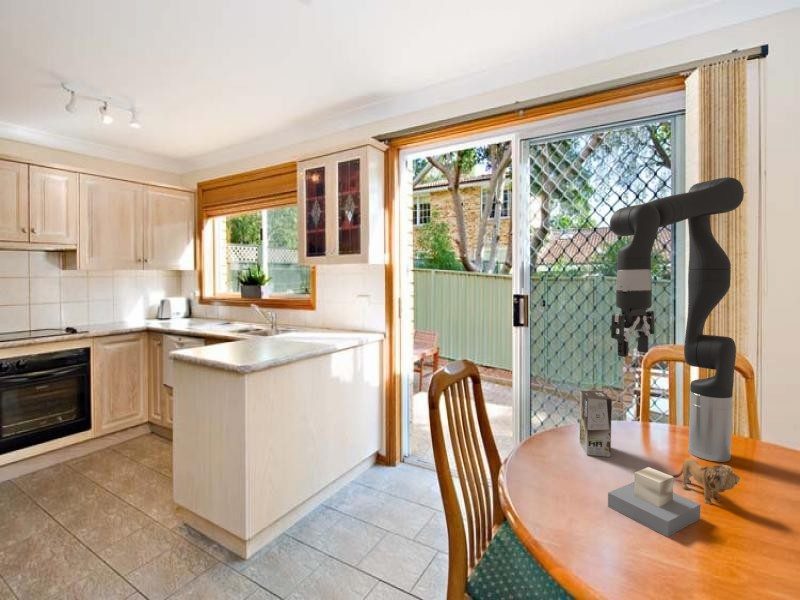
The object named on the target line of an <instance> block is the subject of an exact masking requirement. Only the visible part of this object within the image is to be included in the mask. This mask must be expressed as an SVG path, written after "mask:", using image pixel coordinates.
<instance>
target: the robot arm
mask: <svg viewBox="0 0 800 600" xmlns="http://www.w3.org/2000/svg"><path fill="white" fill-rule="evenodd" d="M744 197H745V196H744V187H743V184H742V183H741V181H740V180H739V179H737V178H735V177H729V176H727V177H720V178H715V179H710V180H707V181H705V180H704V181H702V182H701V181H700V182H698V183H694V184H693V185H692V186H690V188H689V190H688V192H684V193H683V192H682V193H679V194H673V195H668V196H664V197H661V198H657V199H654V200H653V199H652V200H651V201H647V202H645V203H640V204H635V205H629V206H625V207H621V208H619V209H617V210H615V212H613V214H612V215H611V218H610V220H609V227H610V229H611V232H613V233H614V234H615V235H617V236H620V237H630V236H633V237H632V240H631V242H630V243H629V244H625V245H624V246H622V247H619V249H618V252H617V272H616V273H617V274H616V278H615V279H616V282H615V291H616V292H615V293H616V294H615V297H616V298H615V306H616V308H618V309H620V310H621V311H620V313H612V314H611V325H610V326H611V327H610V329H611V330H610V337H611V339H614V340H616V341H617V355H618V356H619V357H622V358H625V357H626V358H628V356H629V338H630V336H631V335H632V334H634V331H636V332H635V333H636V335H637V336H638V337H637V351H638V352H639V353H649V338H651V335H654V334H655V311H654V310H647V309H650V308H652V305H653V304H652V302H653V301H652V300H653V299H652V297H653V296H652V293H653V292H652V291H653V286H652V285H653V278H652V270H651V268H652V259H651V258H652V250H653V247H654V245H655V240H656V236H657V234H658V231H659V228H663V227H667V226H670V225H672V224H676V223H679V222H682V221H684V220H687V224H688V238H689V241H688V244H689V245H688V246H689V247H688V248H689V253H688V269H687V270H688V272H687V273H688V274H687V284H688V285H687V289H688V290H687V291H688V292H687V293H688V294H687V295H688V296H687V298H688V300H687V318H686V319H687V320H686V329H685V336H684V346H683V354H684V355H683V356H684V360H685V363H686V364H687V365H688V366H690V367H694V368H699V369H709V370H714V371H715V372H714V375H713V376H711V377H707V378H699V379H698V378H697V379H695V380H691V382H690V385H689V386H690V387H689V416H688V417H689V420H688V421H689V423H688V452H689V453H690V454H691V455H693V456H694V457H697V458H700V459H703V460H706V461H711V462H717V463H721V462H722V463H726V462H729V461H731V455H732V450H731V449H732V430H733V429H732V425H733V424H732V423H733V421H732V420H733V392H734V381H735V369H736V368H735V367H736V366H735V365H736V359H737V358H736V357H737V346H736V345H737V344H736V343H735V341H734V339H733V338H732V337H729V336H723V335H712V334H704V329H705V325H706V321H707V319H708V317H709V316H710V315H711V313H712V311H713V310H714V309H715V308H716V306H717V305H719V303H720V302H721V301H722V300H723V298H725V296H726V295H727V293H728V292H729V289H730V287H731V278H732V276H731V274H732V273H731V272H732V271H731V270H732V267H731V265H732V264H731V261H730V258H729V256H728V254H727V253H726V252H725V251H724V249H723V248H722V246H721V245H720V244H719V243H718V241H717V240H716V238H715V237H714V235H713V232H712V229H711V228H712V227H711V226H712V225H711V215H718V214H719V215H720V214H725V213H729V212H732V211H734V210H736V209H737V208H739V207H740V206H741V204H742V202H743V200H744Z"/></svg>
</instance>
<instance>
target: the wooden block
mask: <svg viewBox="0 0 800 600" xmlns="http://www.w3.org/2000/svg"><path fill="white" fill-rule="evenodd" d="M634 482H635V485H634V496H636V497H638V498H640V499H642V500H645V501H647V502H649V503H651V504H653V505H655V506H658V507H661V506H663V505H665V504H667V503H669V502H671V501H673V493H674V477H673V475H670V474H667V473H666V472H665V473H664V472H662V471H660V470H657V469H655V468H651V467H650V466H648V467H647V466H646V467H645V468H642V469H640V470H637V471H635V472H634Z"/></svg>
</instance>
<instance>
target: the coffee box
mask: <svg viewBox="0 0 800 600" xmlns="http://www.w3.org/2000/svg"><path fill="white" fill-rule="evenodd" d="M612 403H613V399H612V398H611V397H610V396H608V395H607V394H606V393H605V392H604V391H602V390H579V444H580V443H581V444H580V446H581V445H582V446H581V448H582V449H583V451H584V450H585V451H584V452H585V454H586V455H587V456H595V457H596V456H597V457H607V458H610V457H611V452H612V451H611V448H612V447H611V446H612V406H613V405H612Z"/></svg>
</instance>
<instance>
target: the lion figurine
mask: <svg viewBox="0 0 800 600" xmlns="http://www.w3.org/2000/svg"><path fill="white" fill-rule="evenodd" d="M681 467H682V468H681V470H680V472H679V473H678V474H674V475H672V476H673V479H677V478H680V477H681V476H682V475H683V477H682V479H681V481H682V485H681V486H682V487H681V488H682V489H683V490H689V486H688V485H687V484H691V483H692V480H691V479H690V478H691V477H692V478H693V479H694V480H695V481H696V482H697V483H699V484H701V485H702V487H703V493H704V494H703V495H704V503H705V504H707V505H712V504H713V502H712V500H713V501H714V502H716V503H720V502H721V499H720V498H718V497H717V496H718V494H723V493H725V491H730V490H733V488H735V486H737V485H738V483H739V482H740V479H741V477H740V476H739V475H737V474H736V473H735V471H733V470H734V469H733V468H732V466H730V465H727V464H718V465H706V466H704V467H703V466H702V465H701V464H699V462H698V461H697V460H695V459H692V458H686V459H684V460H683V462H682V466H681ZM711 491H712V492H711ZM711 499H712V500H711Z"/></svg>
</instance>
